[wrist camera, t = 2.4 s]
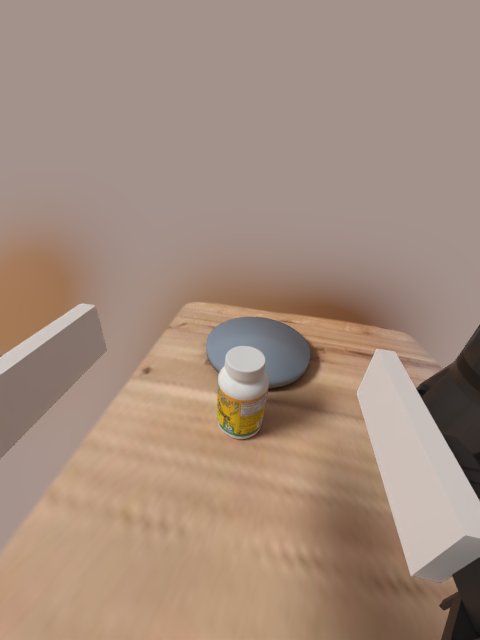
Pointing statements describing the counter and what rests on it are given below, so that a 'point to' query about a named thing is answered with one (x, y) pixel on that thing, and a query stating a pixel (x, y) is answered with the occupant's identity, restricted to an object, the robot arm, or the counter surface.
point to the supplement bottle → (242, 392)
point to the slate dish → (262, 347)
